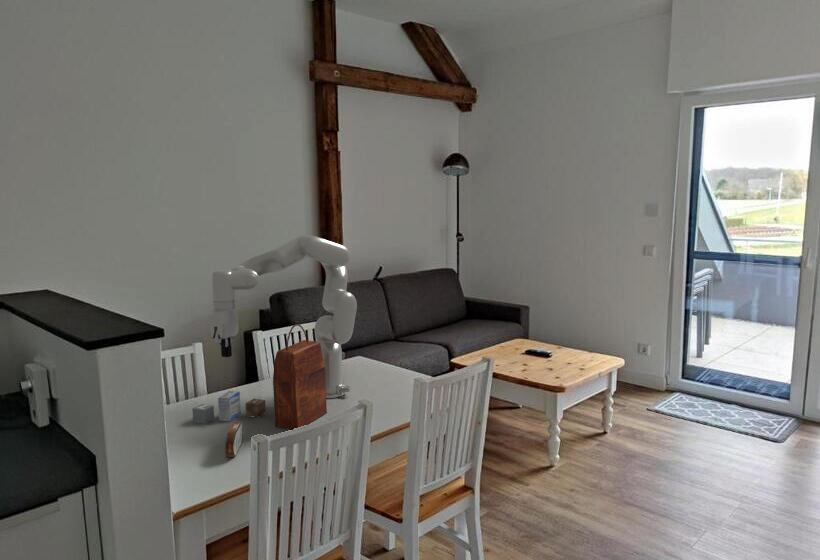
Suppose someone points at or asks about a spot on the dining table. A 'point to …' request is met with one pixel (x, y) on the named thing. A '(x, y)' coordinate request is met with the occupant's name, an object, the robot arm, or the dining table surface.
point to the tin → (234, 439)
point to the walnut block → (255, 407)
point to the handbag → (299, 384)
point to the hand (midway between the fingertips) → (226, 356)
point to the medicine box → (229, 406)
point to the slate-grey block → (203, 413)
